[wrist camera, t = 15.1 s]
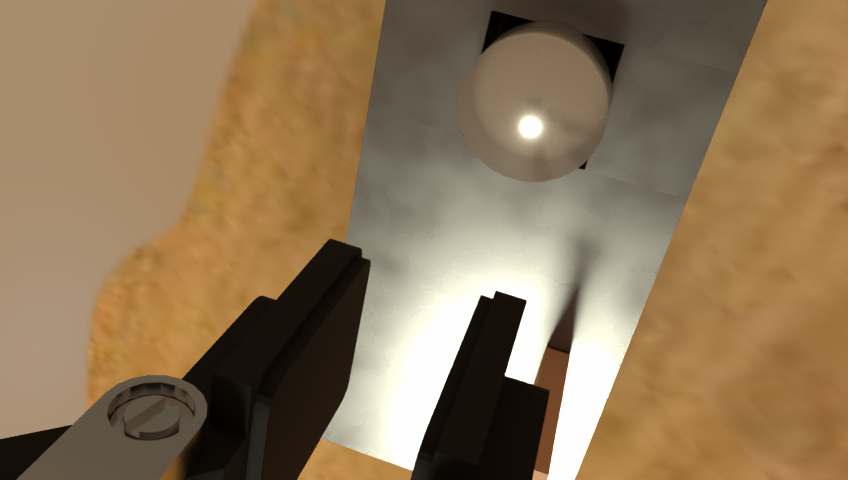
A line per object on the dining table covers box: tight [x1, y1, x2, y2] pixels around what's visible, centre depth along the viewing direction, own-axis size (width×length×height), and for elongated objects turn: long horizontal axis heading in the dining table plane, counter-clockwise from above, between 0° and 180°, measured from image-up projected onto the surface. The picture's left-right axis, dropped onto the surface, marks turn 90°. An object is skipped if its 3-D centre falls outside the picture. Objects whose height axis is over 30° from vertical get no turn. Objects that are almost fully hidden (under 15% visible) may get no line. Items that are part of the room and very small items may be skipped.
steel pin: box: [458, 21, 612, 182], centre depth 28 cm, size 5×5×8 cm
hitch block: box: [321, 0, 767, 480], centre depth 33 cm, size 12×24×6 cm, turn 169°
